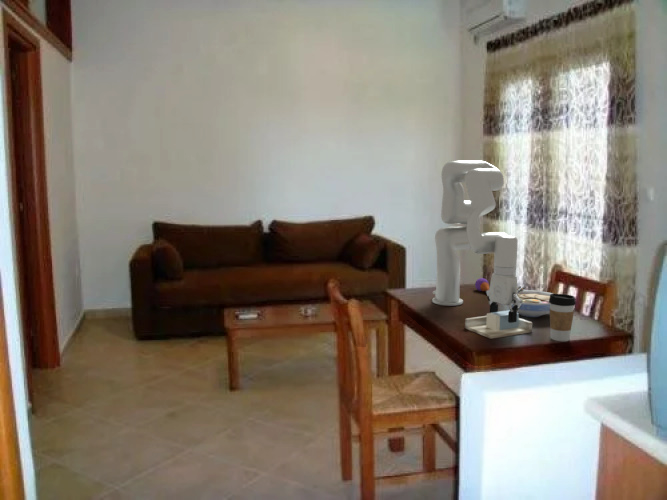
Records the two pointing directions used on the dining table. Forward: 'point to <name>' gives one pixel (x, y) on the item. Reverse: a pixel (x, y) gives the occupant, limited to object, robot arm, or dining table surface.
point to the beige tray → (480, 327)
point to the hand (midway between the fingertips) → (502, 318)
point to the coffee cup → (561, 316)
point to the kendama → (482, 284)
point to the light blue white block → (500, 321)
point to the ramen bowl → (533, 302)
